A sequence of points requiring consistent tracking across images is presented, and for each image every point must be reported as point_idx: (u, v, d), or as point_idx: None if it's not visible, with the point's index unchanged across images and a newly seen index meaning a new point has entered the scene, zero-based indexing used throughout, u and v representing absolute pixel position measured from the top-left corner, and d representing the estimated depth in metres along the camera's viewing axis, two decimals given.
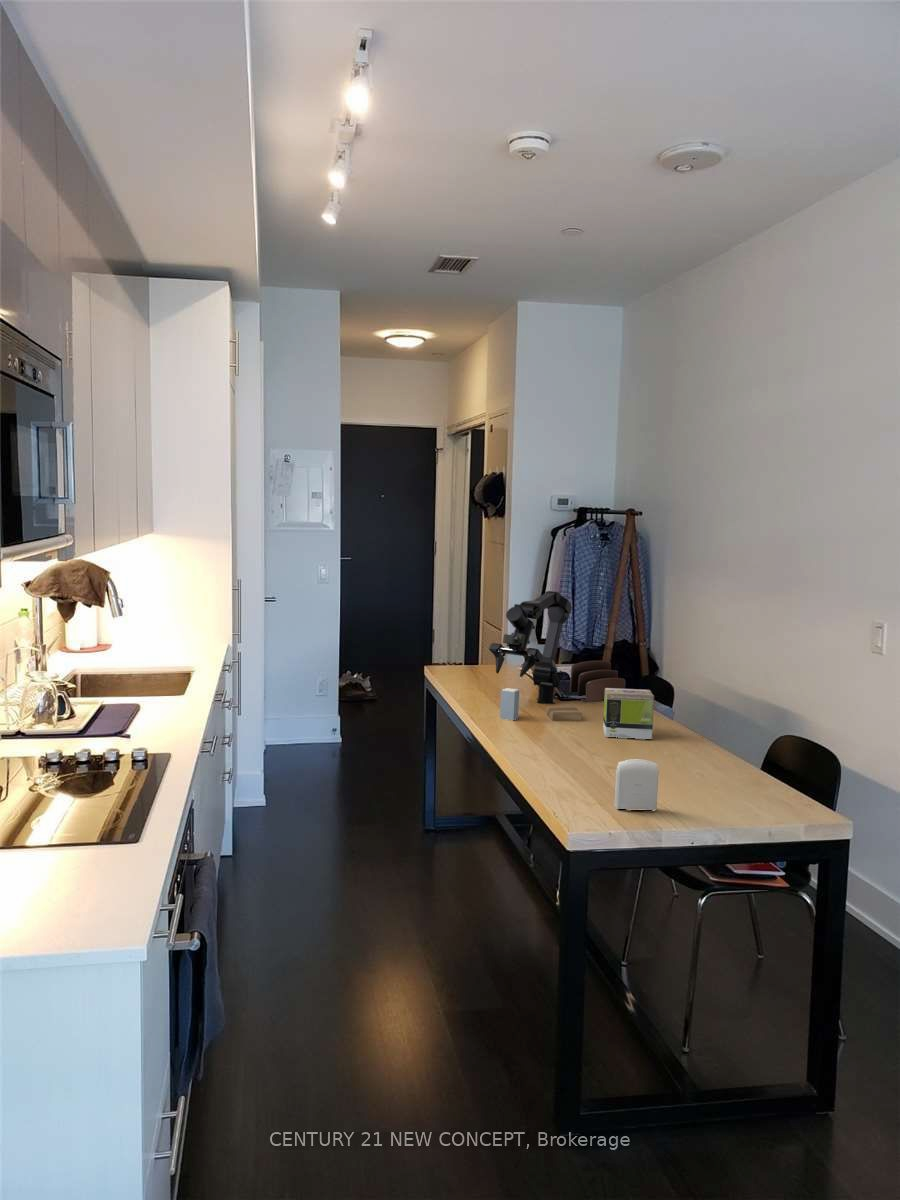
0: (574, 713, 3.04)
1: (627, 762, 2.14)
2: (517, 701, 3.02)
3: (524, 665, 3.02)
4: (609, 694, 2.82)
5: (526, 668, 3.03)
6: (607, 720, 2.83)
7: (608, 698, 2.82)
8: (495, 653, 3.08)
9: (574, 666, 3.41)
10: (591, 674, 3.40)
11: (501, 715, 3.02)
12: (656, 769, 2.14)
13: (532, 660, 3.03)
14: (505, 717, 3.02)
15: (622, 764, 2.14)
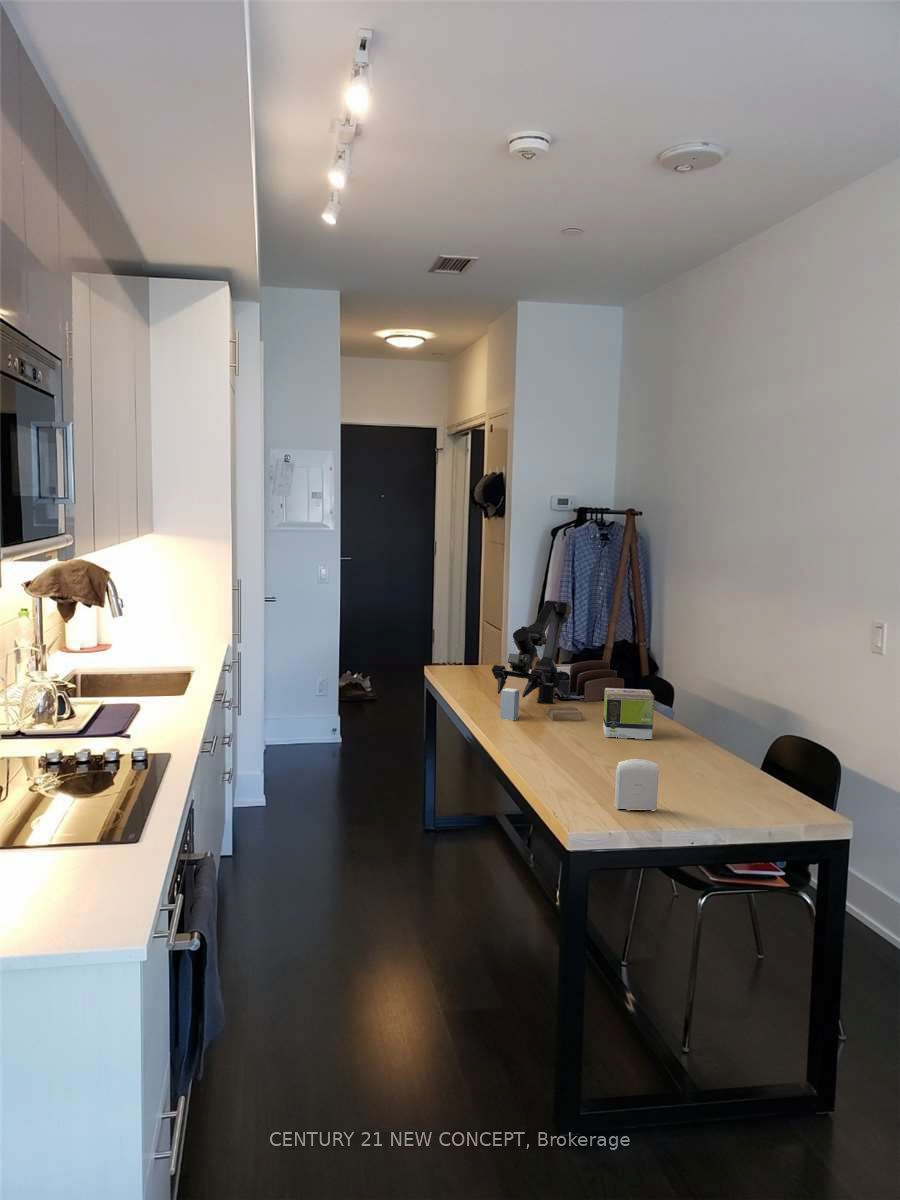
0: (574, 713, 3.04)
1: (627, 762, 2.14)
2: (517, 701, 3.02)
3: (527, 686, 3.02)
4: (609, 694, 2.82)
5: (529, 689, 3.02)
6: (607, 720, 2.83)
7: (608, 698, 2.82)
8: (498, 674, 3.08)
9: (573, 666, 3.41)
10: (590, 674, 3.41)
11: (501, 715, 3.02)
12: (656, 769, 2.14)
13: (535, 682, 3.03)
14: (505, 717, 3.02)
15: (622, 764, 2.14)
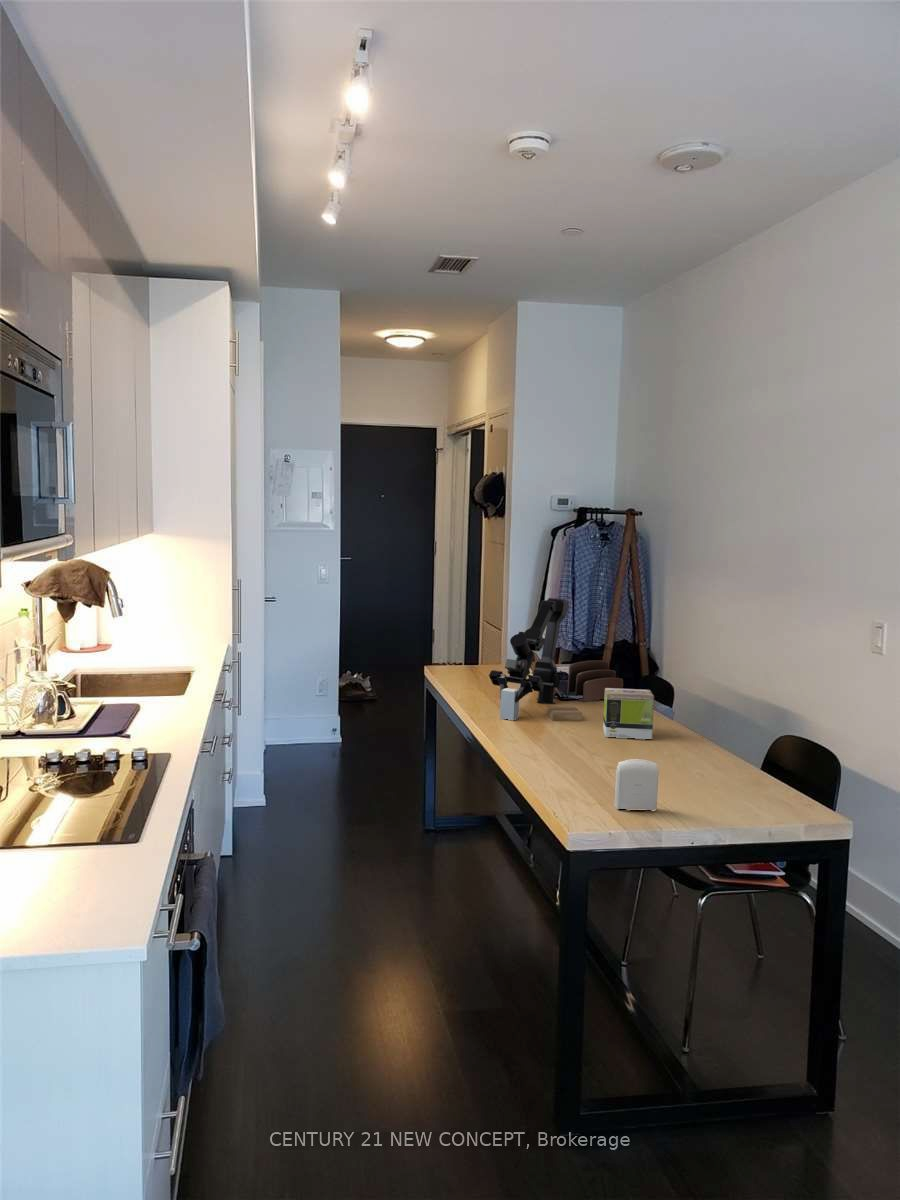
0: (574, 713, 3.04)
1: (627, 762, 2.14)
2: None
3: (520, 691, 3.01)
4: (609, 694, 2.82)
5: (521, 694, 3.02)
6: (607, 720, 2.83)
7: (608, 698, 2.82)
8: (500, 680, 3.05)
9: (572, 666, 3.41)
10: (589, 674, 3.41)
11: (501, 715, 3.02)
12: (656, 769, 2.14)
13: (528, 687, 3.03)
14: (505, 717, 3.02)
15: (622, 764, 2.14)
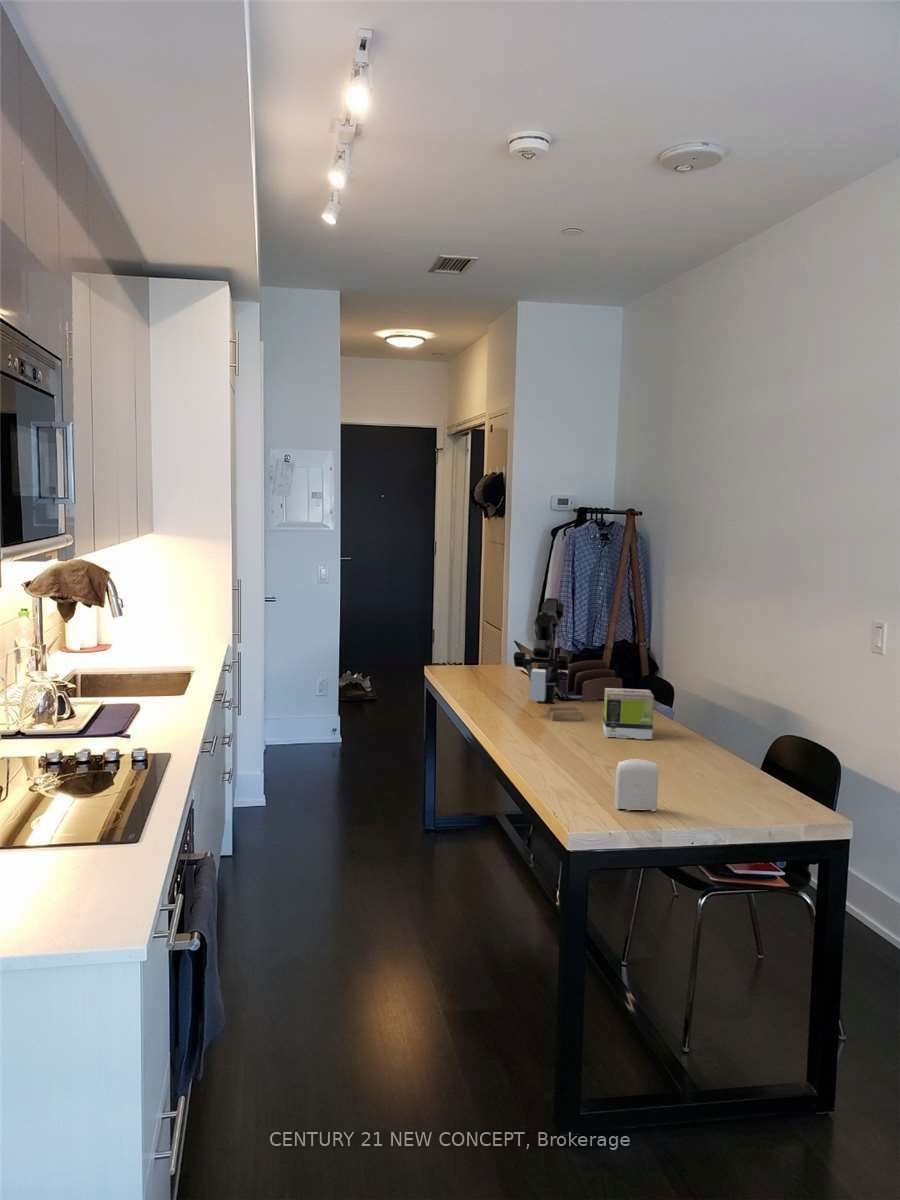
0: (574, 713, 3.04)
1: (627, 762, 2.14)
2: None
3: (549, 671, 3.02)
4: (609, 694, 2.82)
5: (550, 674, 3.03)
6: (607, 720, 2.83)
7: (608, 698, 2.82)
8: (527, 661, 3.05)
9: (571, 666, 3.41)
10: (588, 674, 3.41)
11: (531, 696, 3.02)
12: (656, 769, 2.14)
13: (555, 666, 3.04)
14: (535, 698, 3.02)
15: (622, 764, 2.14)
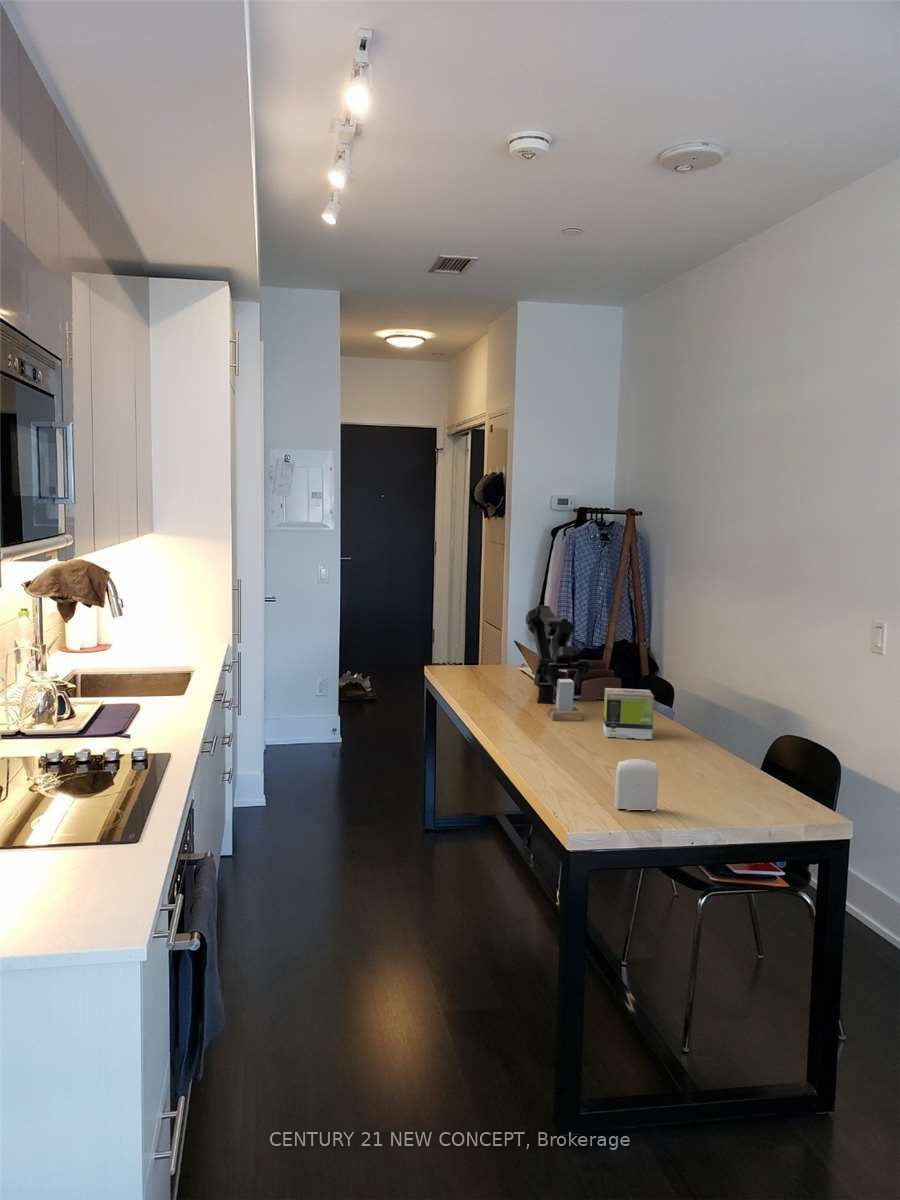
0: (574, 713, 3.04)
1: (627, 762, 2.14)
2: None
3: (579, 676, 3.08)
4: (609, 694, 2.82)
5: None
6: (607, 720, 2.83)
7: (608, 698, 2.82)
8: (548, 668, 3.07)
9: None
10: (587, 674, 3.41)
11: (560, 706, 3.06)
12: (656, 769, 2.14)
13: (582, 672, 3.11)
14: (564, 708, 3.06)
15: (622, 764, 2.14)
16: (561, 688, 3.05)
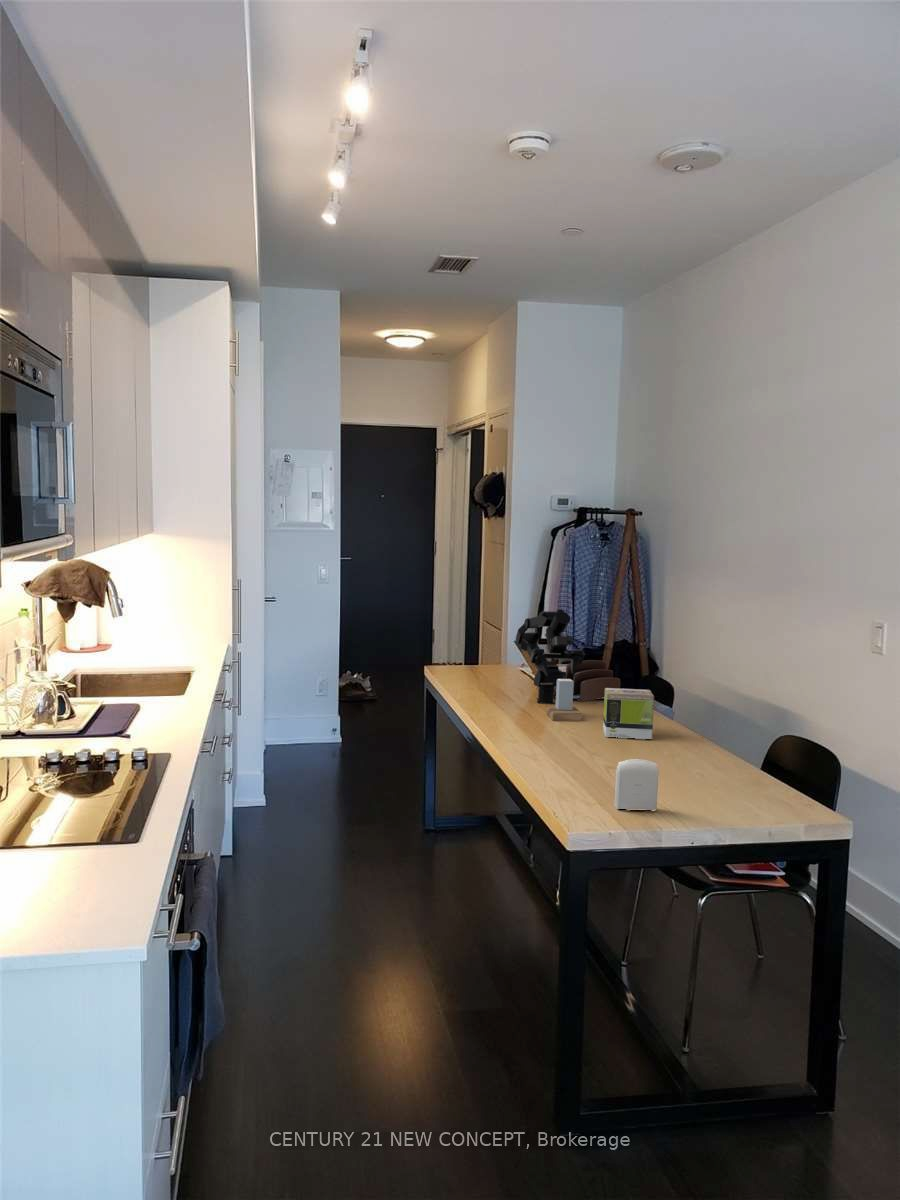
0: (574, 713, 3.04)
1: (627, 762, 2.14)
2: None
3: (574, 665, 3.16)
4: (609, 694, 2.82)
5: (574, 668, 3.17)
6: (607, 720, 2.83)
7: (608, 698, 2.82)
8: (542, 657, 3.15)
9: (569, 665, 3.42)
10: (586, 673, 3.41)
11: (559, 706, 3.06)
12: (656, 769, 2.14)
13: (577, 661, 3.19)
14: (564, 707, 3.06)
15: (622, 764, 2.14)
16: (561, 687, 3.06)
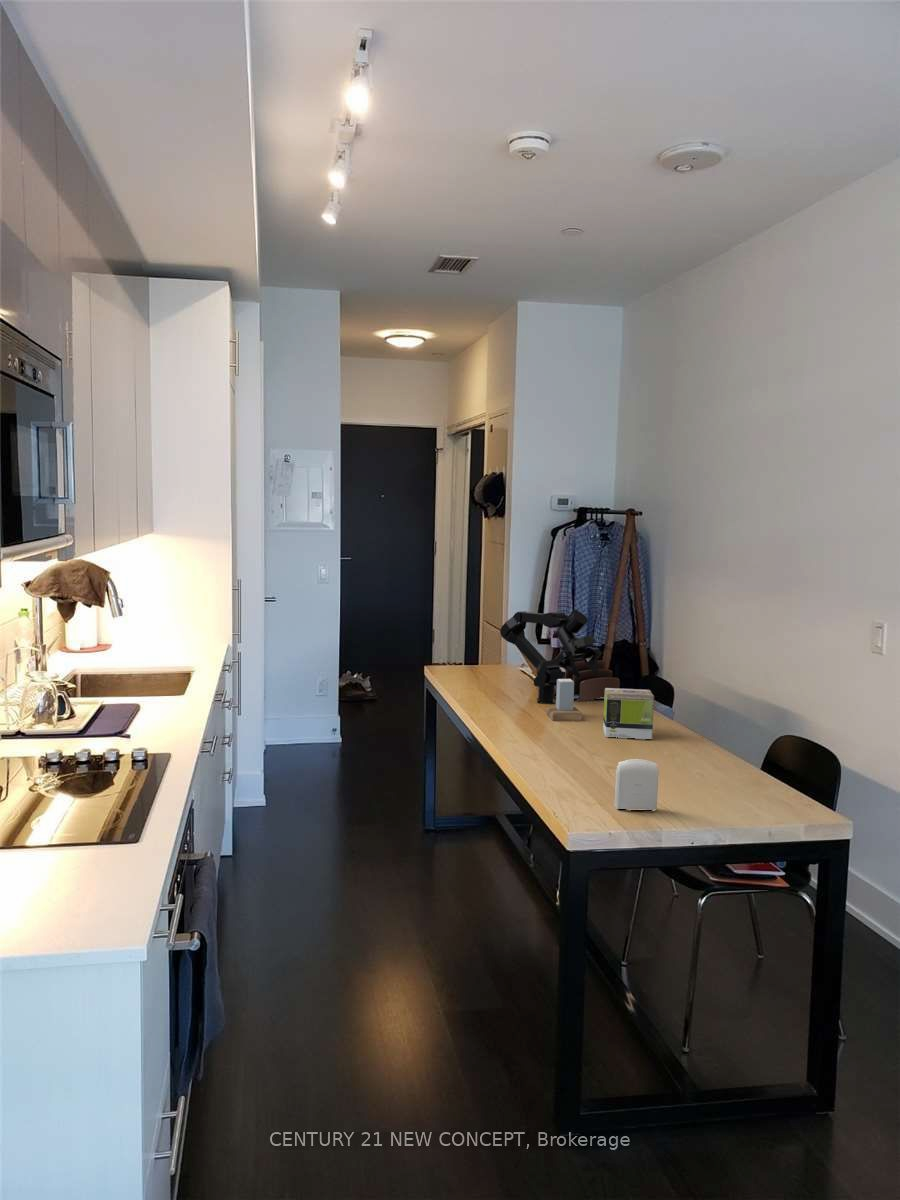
0: (574, 713, 3.04)
1: (627, 762, 2.14)
2: None
3: (596, 664, 3.19)
4: (609, 694, 2.82)
5: None
6: (607, 720, 2.83)
7: (608, 698, 2.82)
8: (571, 659, 3.12)
9: None
10: (585, 673, 3.41)
11: (560, 706, 3.06)
12: (656, 769, 2.14)
13: None
14: (565, 708, 3.06)
15: (622, 764, 2.14)
16: (561, 688, 3.05)
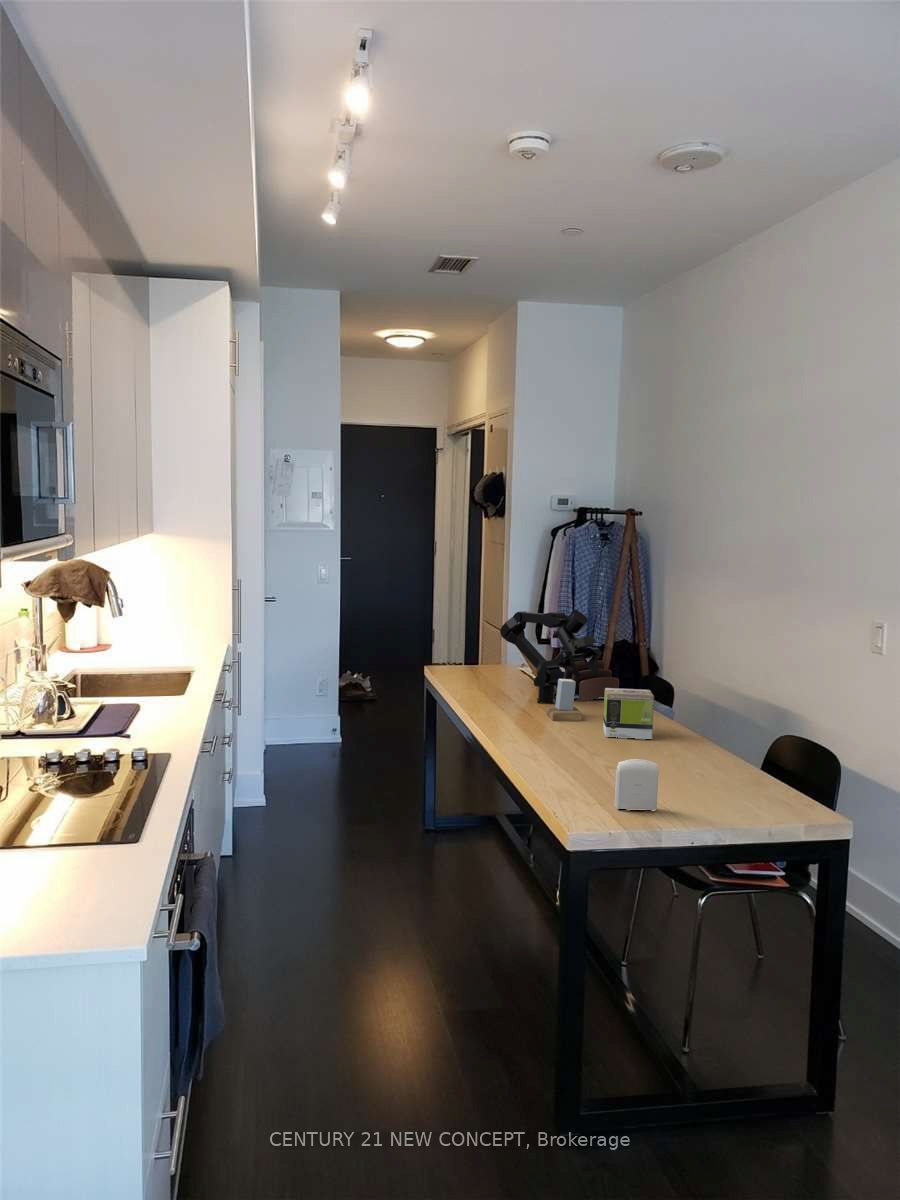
0: (574, 713, 3.04)
1: (627, 762, 2.14)
2: None
3: (596, 664, 3.19)
4: (609, 694, 2.82)
5: None
6: (607, 720, 2.83)
7: (608, 698, 2.82)
8: (571, 659, 3.12)
9: None
10: (585, 673, 3.41)
11: (560, 706, 3.05)
12: (656, 769, 2.14)
13: None
14: (564, 707, 3.06)
15: (622, 764, 2.14)
16: (563, 687, 3.05)
